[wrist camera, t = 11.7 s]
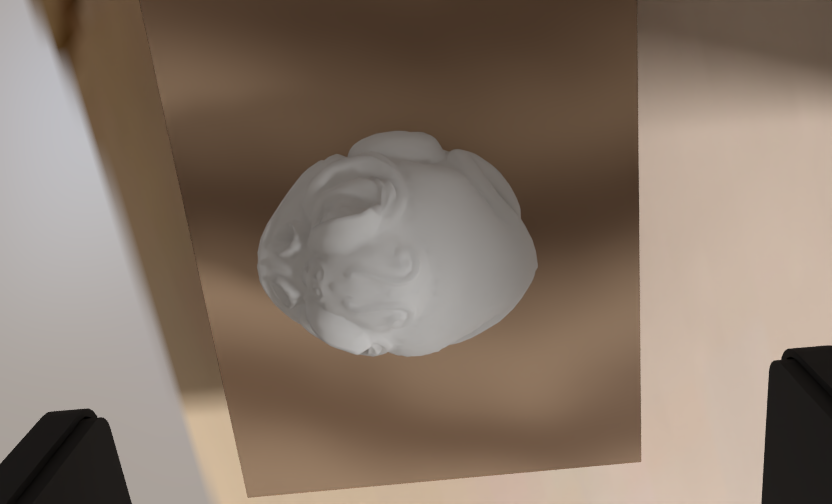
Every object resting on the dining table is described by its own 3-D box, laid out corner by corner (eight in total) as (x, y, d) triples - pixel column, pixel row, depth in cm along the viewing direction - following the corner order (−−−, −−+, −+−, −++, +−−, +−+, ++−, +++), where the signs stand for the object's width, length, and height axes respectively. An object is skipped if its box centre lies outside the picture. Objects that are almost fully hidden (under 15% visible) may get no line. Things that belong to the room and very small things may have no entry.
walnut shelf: (179, -96, 26) (113, -119, 20) (586, -144, 25) (635, -181, 20) (276, 408, 33) (247, 497, 27) (601, 378, 32) (641, 461, 26)
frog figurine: (296, 99, 22) (246, 147, 16) (531, 122, 22) (580, 178, 16) (288, 289, 24) (241, 402, 18) (504, 308, 24) (536, 427, 18)
